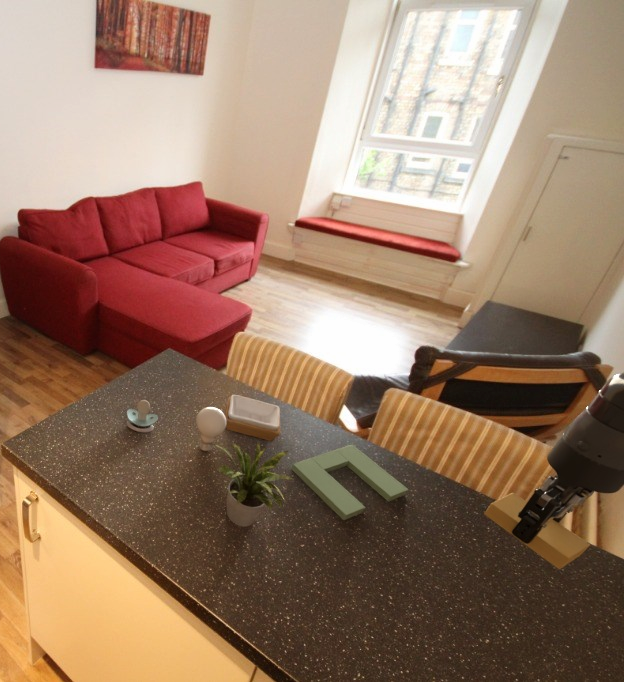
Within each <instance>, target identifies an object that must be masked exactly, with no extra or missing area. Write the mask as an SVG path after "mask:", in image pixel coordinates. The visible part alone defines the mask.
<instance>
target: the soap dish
mask: <svg viewBox="0 0 624 682" xmlns="http://www.w3.org/2000/svg"><path fill="white" fill-rule="evenodd" d="M224 415H225V417H226V428H225V429H226V430H227V431H231V432H235V433H239V434H243V435H246V436H249V437H254V438H257V439H261V440H266V441H267V442H269V441H270V442H272V441H273V440H274V439H276V438H277V437H279V436H280V435H281V409H280V406H278V405H276V404H272V403H269V402H265V401H261V400H258V399H254V398H251V397H245V396H242V395H239V394H238V395H237V394H232V395H230V396H228V398H227V403H226V408H225V413H224Z"/></svg>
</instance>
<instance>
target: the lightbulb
mask: <svg viewBox="0 0 624 682" xmlns="http://www.w3.org/2000/svg"><path fill="white" fill-rule="evenodd" d="M195 424H196V425H195V426H196V427H197V430H198V431H199V436H200V437H199V438H200V440H199V444H198V447H199V449H200V450H202V451H204V452H210V451H211V450H212V447H213V444H214V442H215V440H216V438H217V437H219V436H220V435H221V434H223V432H225V430H226V429H227V428H226V417H225V413H224V412H223V410H221V409H219V408H217V407H215V406H207V407H204V408H202V409H201V410H199V412H198V413H197V415H196V419H195ZM211 443H212V444H211Z"/></svg>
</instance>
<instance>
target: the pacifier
mask: <svg viewBox="0 0 624 682" xmlns="http://www.w3.org/2000/svg"><path fill="white" fill-rule="evenodd" d="M136 408H137V410H136V409H133V408H129V409H128V410H127V411H126V416H127V419H128V420H127V421H126V426H127V427H128V428H129V429H131V430H133V431H134V432H135V431H136V432H139V433H150V432H153V431H154V424H155V423H157V422H158V419H159V415H157V414H155V413H151V414H150V413H149V412H150V411H151V410H150V409H151V404H150V402H149V401H147V400H146V399H141V400H139V402H137V404H136ZM148 413H149V414H148ZM134 425H136V426H138V427H136V426H134ZM140 427H141V428H140ZM147 427H148V428H147Z"/></svg>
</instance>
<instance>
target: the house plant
mask: <svg viewBox="0 0 624 682" xmlns="http://www.w3.org/2000/svg"><path fill="white" fill-rule="evenodd" d="M211 444H212V446H216V447H217V448H219V449H220V450H223V451H224V452H225V453H226V454H227V455H228V456H229V457H230V458H231V460H232V462H233V463H234V465H235V467H236V469H237V470H238V471H237V472H235V471H234V470H232V468H230V467H229V466H227V465H222V466H221V467H218V470H219V472H220V473H221V474H223V475H224V476H227V477H229V478H231V479H232V480H230V481H229V483H228V485H227V497H226V516H227V517H228V519H229V521H230V522H231V523H233V524H234V523H235V524H234V525H236V526H238V527H243V528H244V527H245V528H246V527H247V528H248V527H250V526H251V525H253V524H254V522H255V521H256V519H257V518H258V516H259V515H260V513H261V512H262V510H263V509H264V507H265V506H267V507H268V508H269V509H270V511H271V512H273V507H274V504H273V500H274V501H275V502H276V504H277V505H279V507H280V509H281V510H282V508H283V501H284V502H285V504H287V501H286V499H285V498H284V497H285V496H284V494H283V492H282V491H281V490H280V488H279V487H278V486H276V485H275V484H273V483H272V482H273V481H278V480H284V479H285V480H294V478H293V477H291V476H289V475H286V474H278V473H277V472H275V471H273V470H272V469H274V468H277V466H278V465H279V463H280V461H281V460H282V458H283V457H285V456H286V455H288V453H289V452H290V450H284V451H281V452H279V453H276V454H274V455H273V456H272V457H270V458H269V459H268V460H266V461H265V462H264V463H262V464H261V466H260V468H259V469H258V466H259V463H260V460H261V456H262V455H263V453H264V452H265V450H266V448H264V449H262V450H261V444H260V441H259V440H258V441H257V443H256V449H255V451H254V457H253V461H251V456H250V454H248V453H247V452H245V451H244V449H243V448H242V447H241V446H240V445H239V444H235V443H233V442H231V444H232V446H233V447H234V450H235V454H236V456H237V458H238V461H239V464H240V468H239V466H238V465H237V463H236V460H235V459H234V457H233V455H232V454H231V452H230V451H229V450H228V449H227V448H225V447H224V446H221V445H219V444H216V443H211ZM251 462H252V464H251ZM240 469H241V470H240ZM272 489H275V490H277V491H278V493H279V494H280V496H279V495H278V494H277V493H276V492H274V491H273V490H272ZM268 495H269V496H270V497H271V498H272V499H273V500H272V499H271V498H270V497H268ZM281 498H282V499H283V501H282V499H281Z"/></svg>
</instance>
